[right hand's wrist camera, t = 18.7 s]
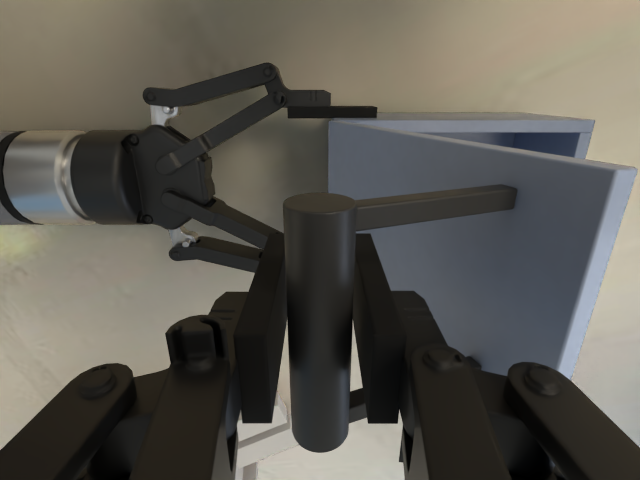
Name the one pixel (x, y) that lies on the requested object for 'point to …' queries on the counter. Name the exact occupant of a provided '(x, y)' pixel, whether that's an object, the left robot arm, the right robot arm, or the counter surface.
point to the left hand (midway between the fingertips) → (370, 178)
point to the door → (444, 256)
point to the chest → (495, 129)
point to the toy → (263, 440)
